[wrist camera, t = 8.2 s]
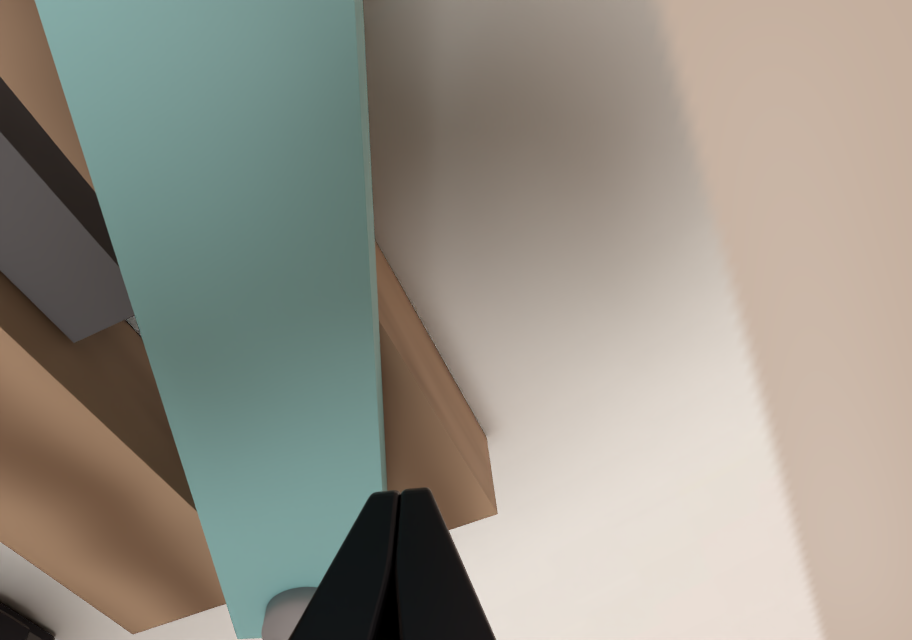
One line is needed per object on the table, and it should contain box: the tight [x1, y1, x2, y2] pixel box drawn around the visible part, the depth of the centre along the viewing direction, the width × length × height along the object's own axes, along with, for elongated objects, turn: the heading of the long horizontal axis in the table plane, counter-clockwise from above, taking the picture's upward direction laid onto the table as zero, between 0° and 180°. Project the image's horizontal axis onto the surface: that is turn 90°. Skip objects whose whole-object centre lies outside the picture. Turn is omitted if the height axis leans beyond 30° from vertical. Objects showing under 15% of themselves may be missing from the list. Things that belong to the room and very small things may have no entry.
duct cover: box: [35, 0, 387, 640], centre depth 15 cm, size 6×25×3 cm, turn 178°
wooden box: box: [0, 0, 498, 634], centre depth 19 cm, size 16×24×4 cm
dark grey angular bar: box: [0, 77, 134, 343], centre depth 17 cm, size 3×10×3 cm
